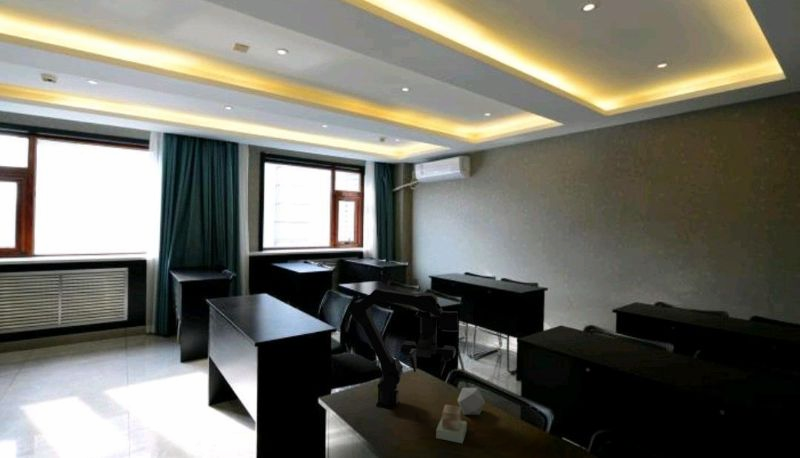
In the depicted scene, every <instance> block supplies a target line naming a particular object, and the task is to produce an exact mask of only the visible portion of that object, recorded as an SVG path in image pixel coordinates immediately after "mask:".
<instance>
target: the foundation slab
mask: <svg viewBox="0 0 800 458" xmlns="http://www.w3.org/2000/svg"><path fill="white" fill-rule="evenodd" d="M467 427H468V422H467V421H465V420H461V424H460V428H459V431H456V430H450V429H444V428H442V417H441V418H440V421H439V423H438V425H437V427H436V430H435V432H436V434H435V438H436V439H439V440H445V441H449V442H454V443H457V444H458V443H459V444H463V442H464V440H465V437H466V433H467V430H468V428H467Z"/></svg>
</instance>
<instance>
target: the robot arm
mask: <svg viewBox="0 0 800 458" xmlns="http://www.w3.org/2000/svg"><path fill="white" fill-rule="evenodd" d="M438 301H439V300H438V297H437V295H436V294H435V293H433V292H416V293H413V292H412V293H410V292H404V291H397V290H391V289H385V288H380V287H377V288H375V289H374V290H372V291H371V293H369V294H368V295H367V296H366V297H364V298H360V299H357V300H356V301H355V302H353V303H352V304H351V305H350V308H349V314H350V315H351V317H352V318H353V319H354V321H355V322H356V323H358V325H359V326H360V327H362V330H363V331H364V334H365V336H366V337H367V340H368V341H369V343H370V345H371V347H372V349H373V352H374V353H375V355H376V357H377V359H378V361H379V363H380V364H379V365H380V370H381V374H382V376H381V377H380V380H379V381H378V384H377V402H376V403H375V406H376V407H379V408H386V409H391V410H393V409H394V408H395V407H396V405H398V404H399V398H400V397H399V395H400V394H399V393H400V392H399V390H398V384H399V383H400V381H401V379H402V376H403V372H404V370H403V369H404V366H403V364H401V362H400V359H399V357H396V358H394V357H393V356H392V355H391V353H390V351H389V349H388V347H387V345H386V342H385V341H384V339H383V337H382V336H381V333H380V332H379V330H378V327H377V325H376V323H375V320H374V317H373V311H372V308H371V307H372V306H373V305H375V304H376V303H377V302H385V303H386V302H387V303H391V304H393V303H394V304H399V305H405V306H411V307H413V308H415V309H417V310H418V311H417V312H416V313H415V315H414V317H415V318H420V331H419V332H420V333H419V336H418V337H419V338H418V341H417V343H416V341H413V340H405V341H404V342H403V343H402V344H401V345H400V353H401V354H404V356H407V358H408V359H409V360H410V364H411V367H412V370H413V373H416V372H417V357H418V358H420V357H421V358H426V359H429V358H431V356H432V355H436V354H440V355H441V358H440V365H439V366H440V367H439V368H440V369H439V377H441V376H442V374H443V372H444V369H445V366H446V363H447V362H450V361H451V360H454V359H455V356H456V354H457V348H456V347H455V346H453V345H446V344H444V346H443V347H438V343H437V342H438V341H437V338H438V337H437V336H438V335H437V334H438V330H437V329H438V328H439V329H440V330H441V331H442V332H454V333H455V332H459V319H458V316H459V315H458V313H459V312H458V311H455V310H453V311H450V310H449V311H448V310H443V308H442V307H441V305H440V303H439V302H438ZM437 322H438V323H437ZM437 327H438V328H437Z"/></svg>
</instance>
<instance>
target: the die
mask: <svg viewBox="0 0 800 458" xmlns="http://www.w3.org/2000/svg"><path fill="white" fill-rule="evenodd" d="M457 403H458V405H459V407H461V413H463V415H464V416H480V414H481V412H482V409H483V408H484V406H485V403H486V401H485V399H484V396H483V395H482V393H481V391H480V389H479V388H478V387H462V388H461V391H460V393H459V395H458V398H457Z"/></svg>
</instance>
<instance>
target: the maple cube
mask: <svg viewBox="0 0 800 458" xmlns="http://www.w3.org/2000/svg"><path fill="white" fill-rule="evenodd" d="M441 415H442V416H441V418H442V428H444V429H450V430H456V431H459V428H460V424H461V421H462V410H461V407H460V405H459V406H457V405H451V404H445V405H444V406H443V410H442V414H441Z"/></svg>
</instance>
